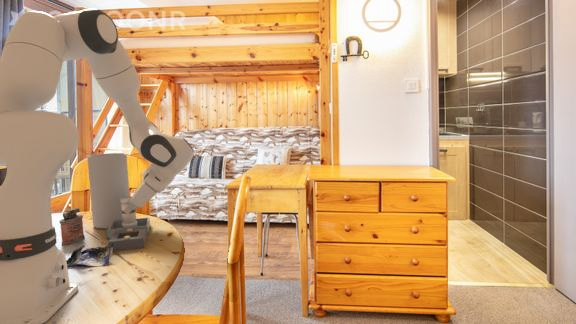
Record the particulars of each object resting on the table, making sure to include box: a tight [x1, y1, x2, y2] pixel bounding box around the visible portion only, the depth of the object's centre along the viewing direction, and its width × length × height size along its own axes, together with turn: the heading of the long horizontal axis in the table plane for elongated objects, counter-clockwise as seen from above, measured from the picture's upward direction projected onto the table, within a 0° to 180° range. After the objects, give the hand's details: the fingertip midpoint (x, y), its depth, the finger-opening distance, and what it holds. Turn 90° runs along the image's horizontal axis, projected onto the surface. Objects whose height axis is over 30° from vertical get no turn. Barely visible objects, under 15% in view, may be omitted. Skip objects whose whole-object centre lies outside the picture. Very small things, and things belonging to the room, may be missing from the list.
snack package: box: [66, 243, 114, 267], centre depth 101 cm, size 12×6×12 cm
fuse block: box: [109, 229, 147, 253], centre depth 115 cm, size 10×9×4 cm
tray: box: [106, 216, 151, 240], centre depth 128 cm, size 12×12×3 cm
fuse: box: [120, 196, 137, 228], centre depth 128 cm, size 5×5×10 cm
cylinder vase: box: [86, 152, 131, 230], centre depth 137 cm, size 12×12×25 cm
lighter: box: [59, 207, 85, 247], centre depth 119 cm, size 8×3×10 cm, turn 168°
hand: (126, 210), depth 127 cm, fingers closed on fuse, 4 cm apart
